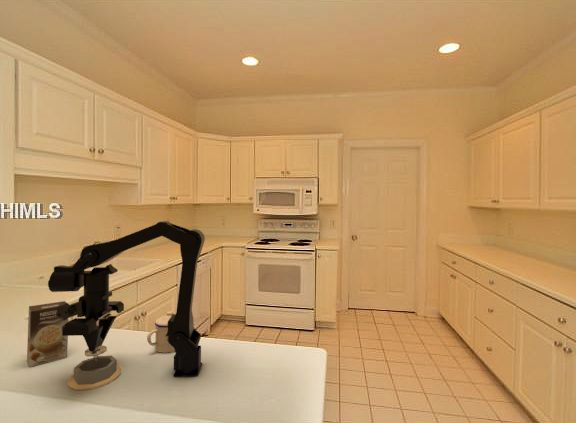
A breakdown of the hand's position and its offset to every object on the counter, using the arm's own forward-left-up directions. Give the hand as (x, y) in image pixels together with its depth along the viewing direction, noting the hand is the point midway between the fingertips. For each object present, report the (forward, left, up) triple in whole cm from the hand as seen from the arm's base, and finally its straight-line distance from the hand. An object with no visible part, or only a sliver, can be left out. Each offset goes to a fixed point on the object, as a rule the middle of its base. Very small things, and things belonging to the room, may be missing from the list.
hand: (95, 348), depth 80 cm
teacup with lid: (-13, -16, -8) cm, 22 cm away
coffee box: (+20, -11, -8) cm, 24 cm away
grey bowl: (0, 0, -8) cm, 8 cm away
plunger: (0, 0, -3) cm, 3 cm away
